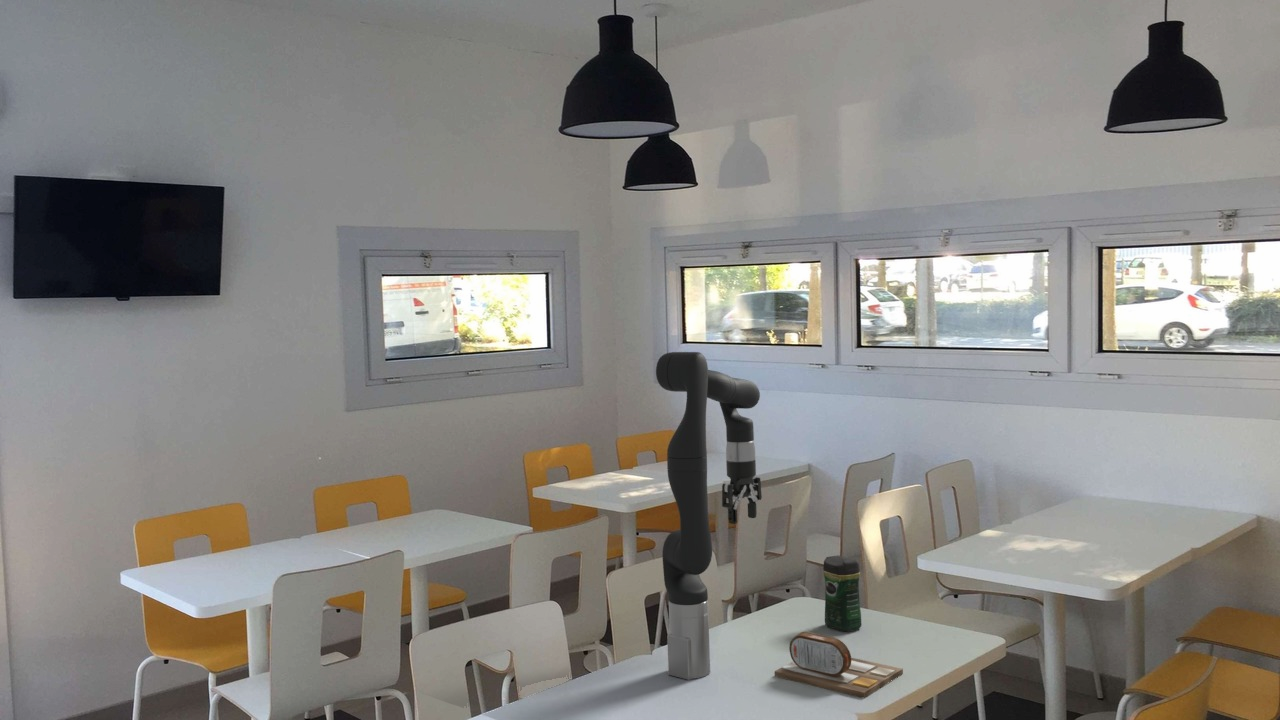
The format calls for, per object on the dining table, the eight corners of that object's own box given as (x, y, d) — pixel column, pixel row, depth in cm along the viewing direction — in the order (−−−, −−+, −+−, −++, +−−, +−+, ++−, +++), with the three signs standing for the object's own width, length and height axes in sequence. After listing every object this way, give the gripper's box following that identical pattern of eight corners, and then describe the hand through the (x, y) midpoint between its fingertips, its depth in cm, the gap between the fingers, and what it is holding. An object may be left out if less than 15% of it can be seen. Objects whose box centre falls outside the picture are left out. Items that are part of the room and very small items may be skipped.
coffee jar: (867, 629, 268) (865, 558, 267) (842, 634, 264) (840, 563, 263) (843, 619, 276) (841, 551, 275) (819, 624, 273) (817, 555, 272)
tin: (852, 676, 229) (851, 639, 229) (845, 680, 227) (844, 643, 227) (795, 663, 239) (794, 628, 239) (787, 667, 237) (786, 631, 237)
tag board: (864, 698, 221) (864, 690, 221) (774, 676, 236) (774, 669, 236) (902, 673, 234) (902, 667, 234) (815, 654, 249) (815, 648, 249)
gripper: (736, 463, 256) (738, 527, 257) (768, 455, 267) (770, 517, 268) (712, 461, 261) (714, 524, 262) (744, 453, 272) (746, 514, 273)
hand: (742, 520), depth 265 cm, fingers open, 8 cm apart
